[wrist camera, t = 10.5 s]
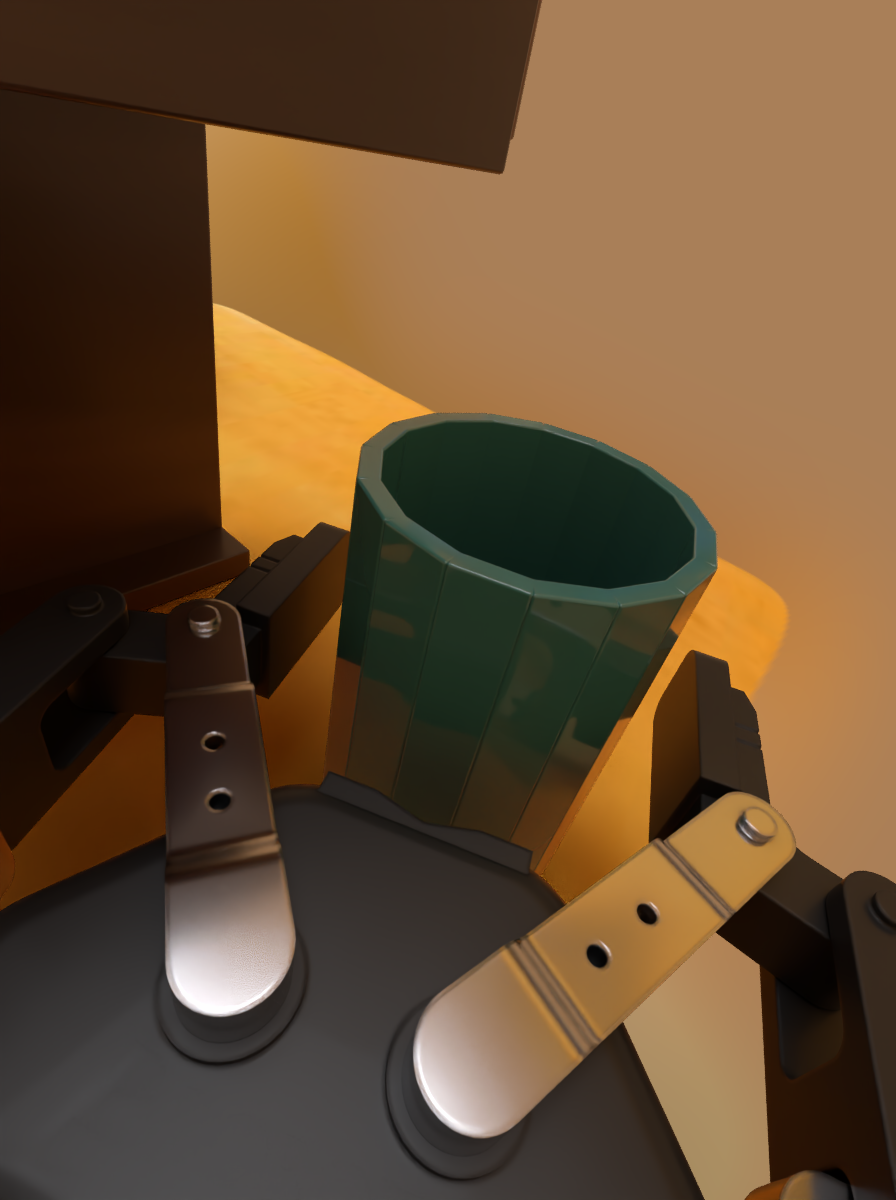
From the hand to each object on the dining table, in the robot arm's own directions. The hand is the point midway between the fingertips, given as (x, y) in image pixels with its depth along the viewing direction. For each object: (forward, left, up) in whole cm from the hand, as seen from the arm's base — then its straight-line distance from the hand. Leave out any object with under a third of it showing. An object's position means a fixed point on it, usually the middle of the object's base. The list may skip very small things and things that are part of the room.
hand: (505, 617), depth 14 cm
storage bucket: (+1, -1, -6) cm, 6 cm away
